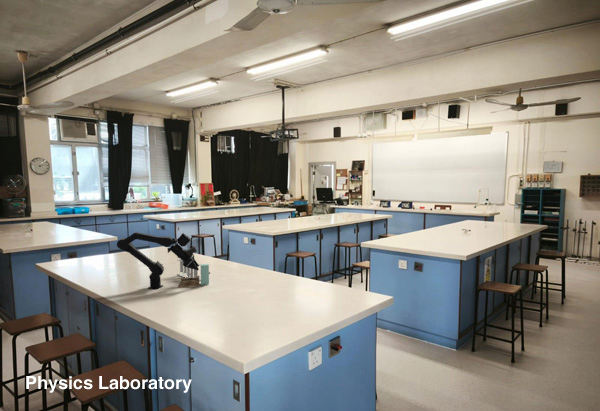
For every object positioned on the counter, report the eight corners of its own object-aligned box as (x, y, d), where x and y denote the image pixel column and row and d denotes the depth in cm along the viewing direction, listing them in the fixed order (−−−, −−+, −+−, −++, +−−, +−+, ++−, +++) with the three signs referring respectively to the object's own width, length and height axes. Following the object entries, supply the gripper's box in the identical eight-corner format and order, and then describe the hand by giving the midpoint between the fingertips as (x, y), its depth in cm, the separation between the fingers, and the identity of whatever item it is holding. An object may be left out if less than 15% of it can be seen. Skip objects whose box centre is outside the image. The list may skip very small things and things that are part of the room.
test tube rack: (201, 281, 229) (200, 261, 228) (195, 282, 226) (194, 262, 225) (182, 274, 247) (182, 255, 246) (176, 275, 243) (176, 256, 243)
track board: (179, 287, 214) (178, 280, 214) (180, 283, 224) (180, 276, 223) (199, 286, 217) (199, 279, 217) (199, 281, 227) (199, 275, 226)
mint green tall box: (200, 285, 220) (200, 265, 219) (200, 283, 223) (200, 264, 222) (210, 284, 221) (210, 265, 220) (210, 282, 224) (209, 263, 224)
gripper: (188, 244, 209) (207, 261, 212) (189, 240, 227) (207, 255, 230) (174, 258, 207) (194, 275, 211) (177, 252, 225) (195, 268, 229)
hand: (198, 268), depth 220 cm, fingers open, 9 cm apart
